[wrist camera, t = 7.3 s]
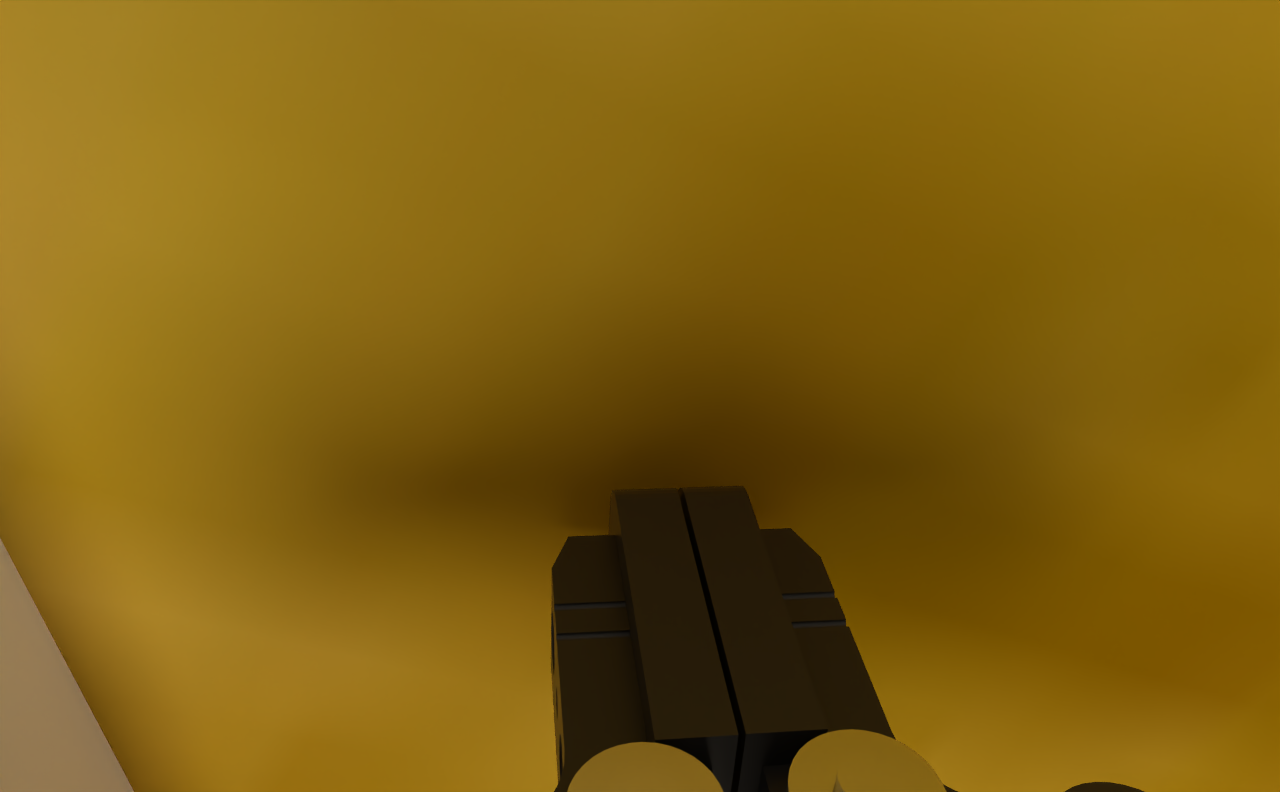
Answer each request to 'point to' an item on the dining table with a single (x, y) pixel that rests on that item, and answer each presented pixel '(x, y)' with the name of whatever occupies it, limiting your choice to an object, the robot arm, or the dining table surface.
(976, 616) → the dining table surface
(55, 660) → the carton
